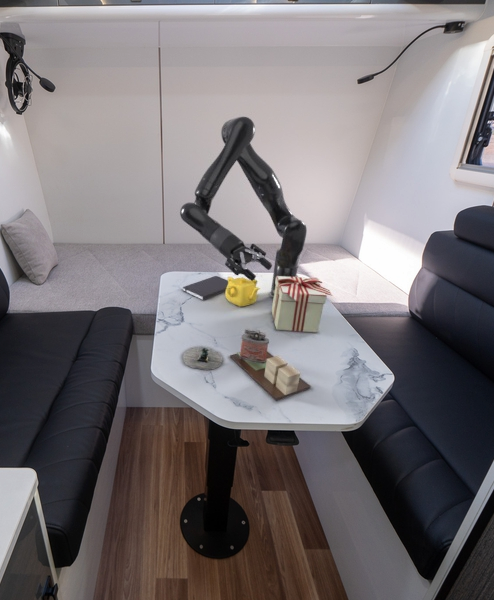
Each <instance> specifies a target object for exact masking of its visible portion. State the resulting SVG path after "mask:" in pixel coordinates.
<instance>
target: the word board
mask: <svg viewBox="0 0 494 600" xmlns="http://www.w3.org/2000/svg"><path fill="white" fill-rule="evenodd" d="M240 353H241V351H239V352H236V353H234V354H230V355H229V358H230V359H231V360H232V361H233V362H234V363H235V364H236V365H237V366H238V367H239V368H241V370H243V371H244V372H245V373H246V374H247V375H248V376H249V377H250V378H251V379H252V380H253V381H254V382H255V383H256V384H257V385H259V386H260V387H261V388H262V389H263V390H264V391H265V392H266V393H267V394H268V395H269V396H270V397H271V398H272V399H273V400H275V401H280V400H282V399H285V398H288V397H290V396H293V395H296V394H299V393H301V392H304V391H307V390H309V389H311V387H312V386H311V385H310V384H308V383H307V382H306V381H305V380H304V379H302V378H301V372H300V371H299V370H297V369H296V368H294V367H293V366H292V365H291V364H288V362H287V361H286V360H284V359H283V358H282V357H280V356H279V355H275V356H273V354H271V352H269V351H267V354H266V363H264V364H261V363H254V362H249V361H245V360H242V359H240Z"/></svg>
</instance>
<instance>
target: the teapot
mask: <svg viewBox="0 0 494 600" xmlns="http://www.w3.org/2000/svg"><path fill="white" fill-rule="evenodd" d="M227 280H228V286H227V288H226V291H225V292H224V295H225V298H226V300H227V301H228V302H229V303H232V304H233V305H236V306H237V307H246V306H249V305H253V304H254V303H256V302H257V299H258V291H259V290H261V287H259V286H257V284H258V280H257V279H256V278H255V279H254V280H253V281H251V280H249V279H248V278H246V277H236V278H234V277H232V276H228V277H227Z"/></svg>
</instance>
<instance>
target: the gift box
mask: <svg viewBox="0 0 494 600" xmlns="http://www.w3.org/2000/svg"><path fill="white" fill-rule="evenodd" d="M321 284H323V281H321V280H320V279H319V278H318V277H303V276H301V277H300V276H298V277H286V276H276V280H275V285H276V286H275V293H274V298H272V305H271V314H272V319H273V322H274V325H275V329H276V331H287V332H300V333H301V332H302V333H303V332H304V333H314V334H315V333H318V331H319V328H320V327H319V326H320V323H321V318H322V313H323V308H324V305H325V304H326V301H327V295H328V296H332V297H333V294H332V292H331V291H330V289H328V288H325V287H323V286H322V285H321Z"/></svg>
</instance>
